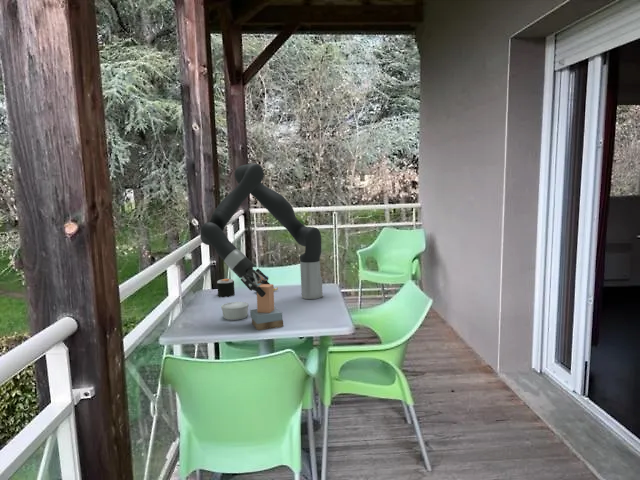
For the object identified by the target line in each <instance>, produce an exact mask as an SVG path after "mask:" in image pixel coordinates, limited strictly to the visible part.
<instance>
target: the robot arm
mask: <svg viewBox="0 0 640 480" xmlns="http://www.w3.org/2000/svg"><path fill="white" fill-rule="evenodd" d="M264 176H265V173H264V169H263V168H262V166H261V165H260V164H258V163H252V162H251V163H247V164H242V165H240V166H237V168H236V169H235V171H234V178H235V180H236V182H237V184H238V185H236V187H235V188H234V189H233V190H232V191H230V192H229V193H228V195H226V196H225V197H224V198H223V199H222V200H221V201H220V203H218V205H217V207H216V208H215V210H214V211H213V213H212V214H211V218H210V220H209V221H208V222H205V223H203V224H202V225H201V228H200V234H199V235H200V240H201V242H202V243H203V244H204V245H207V246H212V247H213V249H214V250H215V253H216V255H217V256H218V257H219V258H220V259H222V260H223V262H224V263H225V264H226V266H227V267H228V268H229V269H230V270H231V271H232V272H233V273H234V274H235V275H236V276H237V277H238V279H240V281H241V282H242V284H244V285H245V287H247V289H248V290H249V291H254V292H256V294H257V293H258V294H259V295H260V296H261V297H263V296H264V295H265V294H266V293H265V291H264V290H263V289H262V288H261V287H260V286H259V285H258V284H259V283H260V284H270V282H269V279H268V278H269V277H268V278H267V277H266V276H267V275H266V274H264V273H263V272H262V271H261V270H260V269H259V268H256V269H254V266H255V265H254V263H253V262H252V261H251V260H250V259H249V258H248V257H247V256H246V254H244V253H243V251H241V250H240V249H238V248H237V247H236V245H234V244H233V243H232V242H231V241H230V240H229V238H228V237H227V235H226V234H225V233H224V230H225V227H226V226H227V225H228V224H229V222H230V220H232V218H233V217H234V215H235V213H236V212H237V210H238V209H239V208H240V206H241V205H242V204H243V203H244V201H245V200H246V199H247V198H248V197H249V196H250V195H252V196H253V197H254V198H255V199H256V200H257V201H258V202H259V204H261V205H262V206H263V207H264V208H265V209H266V211H268V212H269V214H271V215H272V217H273V218H274V219H276V220H277V221H278V222H279V223H280V224H281V226H283V228H285V230H287V231H288V233H289V234H290V235H291V236H292V238H293V239H294V241H295V242H296V243H297V244H298V245H300V246H302V247H305V248H304V249H305V250H304V251H305V252H304V253H302V254H301V255H300V256H299V266H300V286H301V287H300V288H301V289H300V291H301V299H305V300H315V299H320V298H323V297H324V296H323V295H324V293H323V277H322V276H321V254H322V234H321V231H320V229H319V228H317V227H315V226H314V227H313V226H306V225H304V224H303V223H302V222H301V221H300V220H299V219H298V218H297V217H296V214H295V211H294V208H293V206H292V205H291V203H290V202H289V201H288V200H287V199H286V198H285V197H284V196H283V195H282V194H280V193H279V192H277V191H276V190H273V189H271V188H270V187H268V186H266V185H265V184H263V183H262V181H263V180H264ZM265 275H266V276H265ZM261 281H262V282H261Z"/></svg>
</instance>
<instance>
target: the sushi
mask: <svg viewBox="0 0 640 480" xmlns="http://www.w3.org/2000/svg"><path fill="white" fill-rule="evenodd" d="M216 285H217V297H218V296H219V298H228V297H229V296H230V297H234V296H235V280H234V279H233V278H223V279H219V280H217V281H216Z"/></svg>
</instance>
